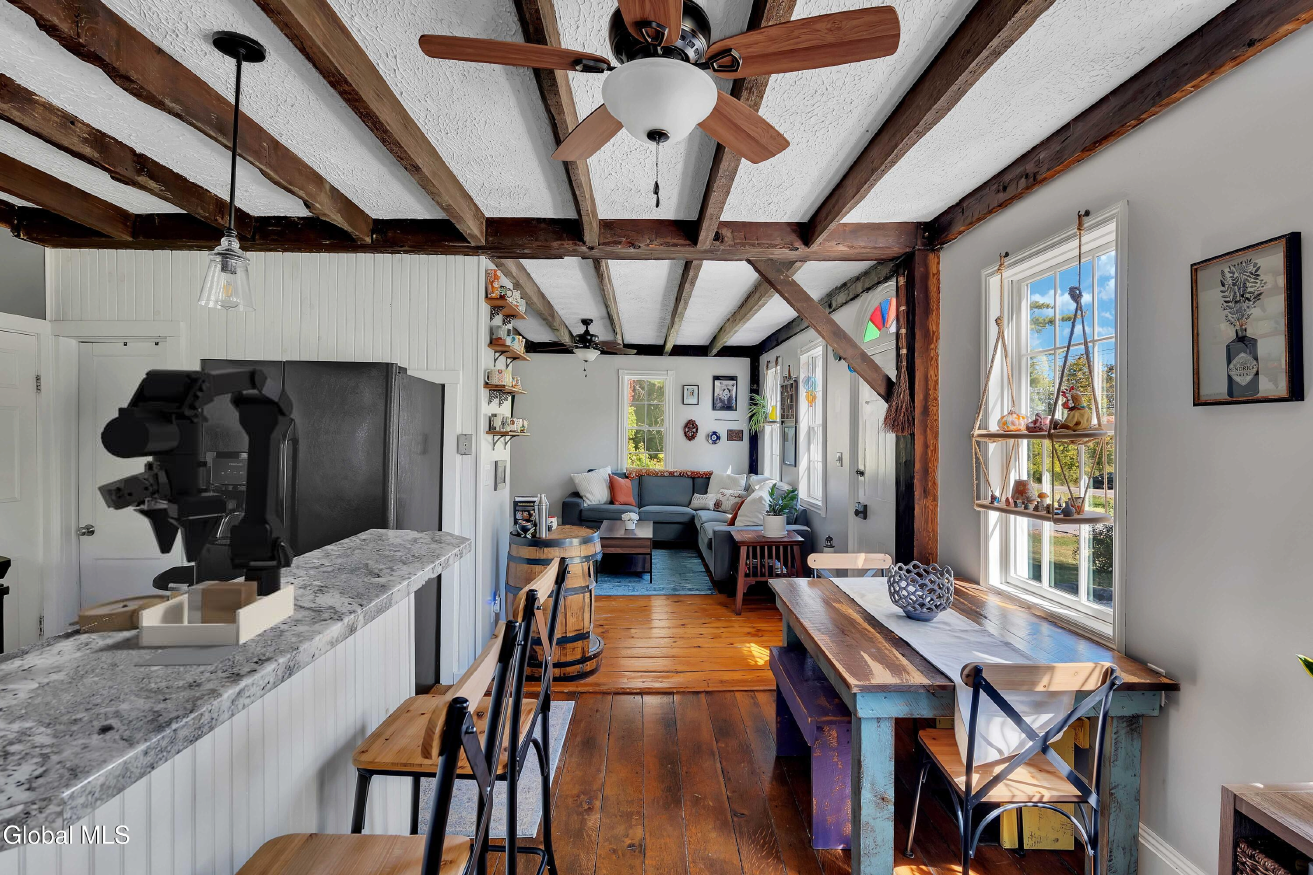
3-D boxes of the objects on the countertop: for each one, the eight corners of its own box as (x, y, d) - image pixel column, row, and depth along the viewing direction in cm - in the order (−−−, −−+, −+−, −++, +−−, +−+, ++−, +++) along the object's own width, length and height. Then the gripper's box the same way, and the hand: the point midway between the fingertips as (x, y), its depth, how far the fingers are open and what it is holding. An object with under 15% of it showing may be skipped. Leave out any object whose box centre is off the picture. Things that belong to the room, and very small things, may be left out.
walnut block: (205, 624, 95) (205, 581, 95) (256, 623, 96) (257, 580, 96) (187, 632, 91) (187, 587, 91) (241, 632, 92) (241, 587, 92)
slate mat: (172, 650, 85) (172, 646, 85) (244, 649, 86) (244, 644, 86) (133, 669, 78) (133, 665, 78) (212, 668, 79) (212, 663, 79)
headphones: (109, 599, 101) (205, 581, 104) (115, 626, 101) (210, 607, 104) (55, 619, 90) (163, 598, 93) (62, 650, 90) (169, 628, 93)
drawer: (208, 617, 101) (208, 585, 100) (293, 616, 102) (293, 584, 102) (138, 649, 86) (139, 612, 86) (239, 647, 87) (239, 611, 87)
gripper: (82, 453, 85) (83, 559, 85) (131, 460, 75) (132, 580, 75) (176, 450, 94) (177, 545, 95) (230, 456, 84) (231, 562, 85)
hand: (178, 557), depth 87 cm, fingers open, 9 cm apart
